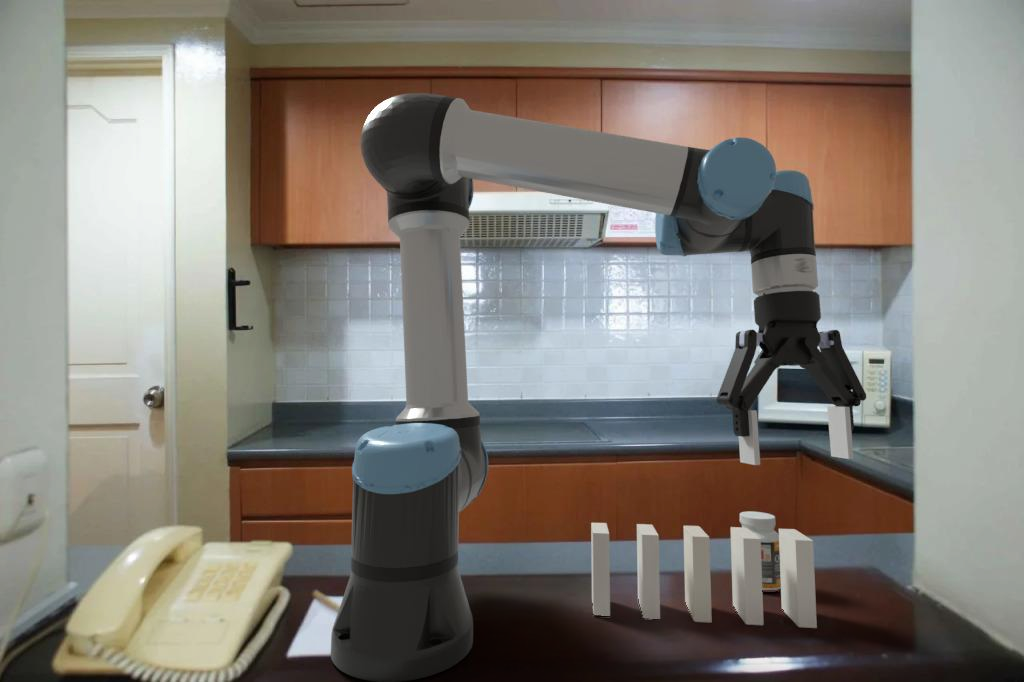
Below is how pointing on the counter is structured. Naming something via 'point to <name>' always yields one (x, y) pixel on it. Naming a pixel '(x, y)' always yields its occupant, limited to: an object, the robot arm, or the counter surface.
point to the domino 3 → (697, 573)
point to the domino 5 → (797, 577)
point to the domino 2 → (648, 571)
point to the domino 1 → (600, 569)
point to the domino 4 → (747, 575)
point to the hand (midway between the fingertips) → (797, 460)
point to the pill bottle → (765, 546)
